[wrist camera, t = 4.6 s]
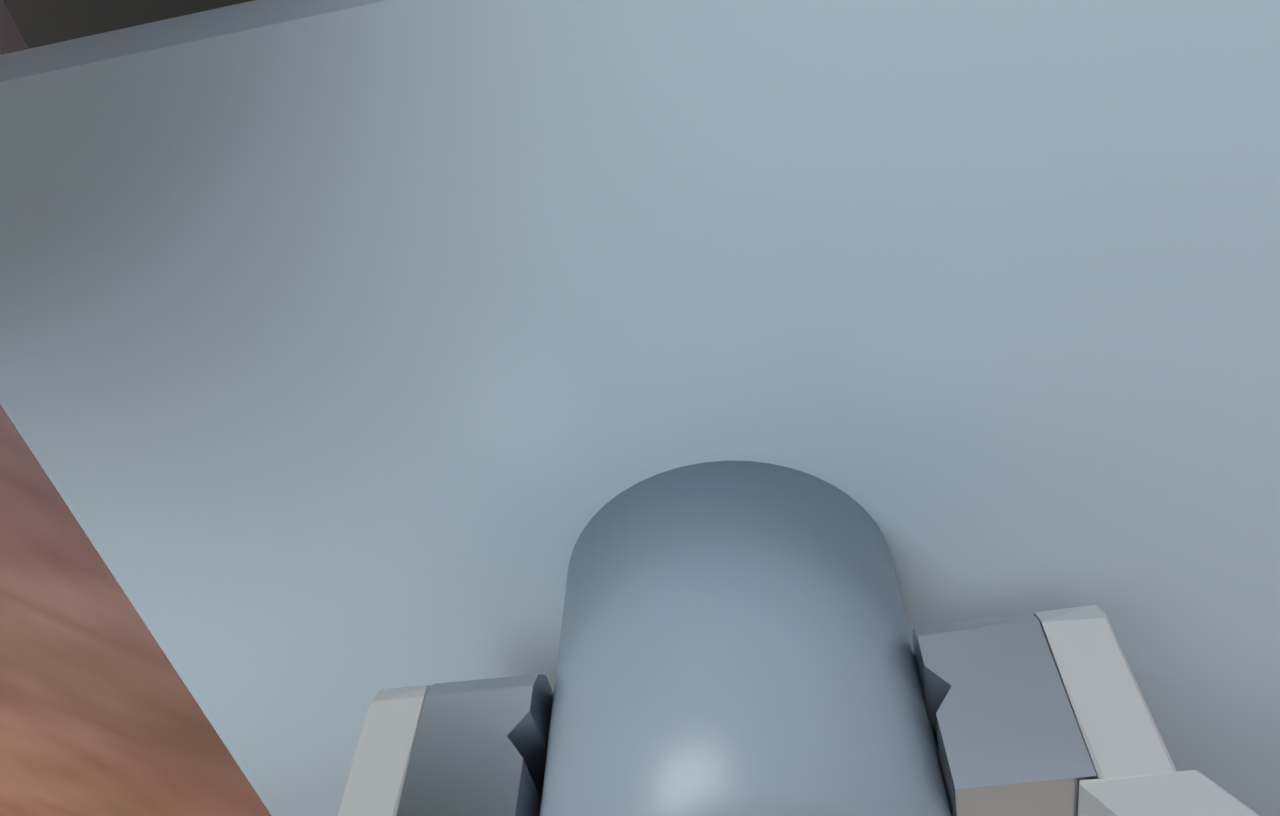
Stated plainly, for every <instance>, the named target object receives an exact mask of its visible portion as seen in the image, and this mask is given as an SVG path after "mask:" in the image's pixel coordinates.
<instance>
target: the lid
mask: <svg viewBox="0 0 1280 816" xmlns="http://www.w3.org/2000/svg"><path fill="white" fill-rule="evenodd" d="M0 404H1V406H2V407H3V409H4V410H5V412H6V413H7V415H8V416H9V418H10V419H11V421H12V422H13V424H14V426H15V427H16V429H17V430H18V432H19V433H20V435H21V436H22V438H23V439H24V441H25V442H26V444H27V445H28V447H29V448H30V450H31V451H32V453H33V454H34V456H35V457H36V459H37V460H38V462H39V463H40V465H41V466H42V468H43V470H44V471H45V473H46V474H47V476H48V477H49V479H50V480H51V482H52V483H53V485H54V486H55V488H56V489H57V491H58V492H59V494H60V495H61V497H62V498H63V500H64V501H65V503H66V504H67V506H68V507H69V509H70V510H71V512H72V514H73V515H74V517H75V518H76V520H77V521H78V523H79V524H80V526H81V527H82V529H83V530H84V532H85V533H86V535H87V536H88V538H89V539H90V541H91V542H92V544H93V545H94V547H95V548H96V550H97V551H98V553H99V554H100V556H101V558H102V559H103V561H104V562H105V564H106V565H107V567H108V568H109V570H110V571H111V573H112V574H113V576H114V577H115V579H116V580H117V582H118V583H119V585H120V586H121V588H122V589H123V591H124V592H125V594H126V595H127V597H128V598H129V600H130V602H131V603H132V605H133V606H134V608H135V609H136V611H137V612H138V614H139V615H140V617H141V618H142V620H143V621H144V623H145V624H146V626H147V627H148V629H149V630H150V632H151V633H152V635H153V636H154V638H155V639H156V641H157V642H158V644H159V646H160V647H161V649H162V650H163V652H164V653H165V655H166V656H167V658H168V659H169V661H170V662H171V664H172V665H173V667H174V668H175V670H176V671H177V673H178V674H179V676H180V677H181V679H182V680H183V682H184V683H185V685H186V687H187V688H188V690H189V691H190V693H191V694H192V696H193V697H194V699H195V700H196V702H197V703H198V705H199V706H200V708H201V709H202V711H203V712H204V714H205V715H206V717H207V718H208V720H209V721H210V723H211V724H212V726H213V727H214V729H215V731H216V732H217V734H218V735H219V737H220V738H221V740H222V741H223V743H224V744H225V746H226V747H227V749H228V750H229V752H230V753H231V755H232V756H233V758H234V759H235V761H236V762H237V764H238V765H239V767H240V768H241V770H242V771H243V773H244V775H245V776H246V778H247V779H248V781H249V782H250V784H251V785H252V787H253V788H254V790H255V791H256V793H257V794H258V796H259V797H260V799H261V800H262V802H263V803H264V805H265V806H266V808H267V809H268V811H269V812H270V814H271V815H272V816H336V815H337V812H338V808H339V805H340V801H341V798H342V795H343V791H344V788H345V784H346V781H347V778H348V774H349V771H350V767H351V764H352V760H353V757H354V754H355V750H356V747H357V743H358V740H359V737H360V733H361V730H362V726H363V723H364V719H365V716H366V713H367V709H368V706H369V705H370V703H371V702H372V700H373V699H374V698H375V696H376V695H377V693H378V692H379V691H380V690H383V689H393V688H403V687H413V686H423V685H433V684H436V683H447V682H458V681H468V680H479V679H490V678H501V677H511V676H522V675H533V674H541V675H546V676H547V679H548V681H549V684H550V686H551V688H552V691H553V693H554V696H553V705H552V713H551V722H550V731H549V740H548V748H547V757H546V766H545V774H544V783H543V792H542V801H541V809H540V816H952V814H951V810H950V806H949V802H948V797H947V793H946V789H945V785H944V781H943V777H942V773H941V768H940V764H939V754H938V750H937V746H936V742H935V738H934V733H933V729H932V725H931V722H930V720H929V717H928V714H927V710H926V705H925V701H924V697H923V692H922V688H921V684H920V680H919V675H918V671H917V667H916V662H915V658H914V653H913V639H912V635H913V628H914V627H922V626H929V625H937V624H944V623H952V622H960V621H967V620H975V619H982V618H990V617H998V616H1005V615H1013V614H1020V613H1028V612H1030V613H1031V614H1032V615H1033V614H1034V612H1041V611H1049V610H1057V609H1065V608H1073V607H1081V606H1089V605H1097V606H1098V607H1099V608H1100V609H1101V610H1102V611H1103V612H1104V613H1105V614H1106V616H1107V618H1108V620H1109V623H1110V625H1111V627H1112V629H1113V631H1114V634H1115V636H1116V638H1117V640H1118V643H1119V645H1120V647H1121V649H1122V651H1123V654H1124V656H1125V658H1126V660H1127V662H1128V665H1129V667H1130V669H1131V671H1132V673H1133V676H1134V678H1135V680H1136V682H1137V684H1138V687H1139V689H1140V691H1141V693H1142V696H1143V698H1144V700H1145V702H1146V704H1147V707H1148V709H1149V711H1150V713H1151V715H1152V718H1153V720H1154V722H1155V724H1156V726H1157V729H1158V731H1159V733H1160V735H1161V737H1162V740H1163V742H1164V744H1165V746H1166V748H1167V751H1168V753H1169V755H1170V757H1171V760H1172V762H1173V764H1174V766H1175V768H1176V771H1182V770H1198V771H1200V772H1201V773H1202V774H1204V775H1205V776H1207V777H1208V778H1209V779H1211V780H1212V781H1213V782H1215V783H1216V784H1217V785H1219V786H1220V787H1222V788H1223V789H1224V790H1226V791H1227V792H1228V793H1230V794H1231V795H1233V796H1234V797H1235V798H1237V799H1238V800H1239V801H1241V802H1242V803H1243V804H1245V805H1246V806H1248V807H1249V808H1250V809H1252V810H1253V811H1254V812H1256V813H1257V814H1258V815H1260V816H1280V0H254V1H249V2H244V3H240V4H235V5H230V6H226V7H221V8H216V9H212V10H207V11H202V12H198V13H193V14H189V15H184V16H179V17H175V18H170V19H165V20H161V21H156V22H151V23H147V24H142V25H137V26H133V27H128V28H123V29H119V30H114V31H109V32H105V33H100V34H95V35H91V36H86V37H81V38H77V39H72V40H67V41H63V42H58V43H54V44H49V45H44V46H40V47H35V48H30V49H26V50H21V51H16V52H12V53H7V54H2V55H0Z"/></svg>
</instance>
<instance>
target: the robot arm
mask: <svg viewBox="0 0 1280 816" xmlns="http://www.w3.org/2000/svg"><path fill="white" fill-rule="evenodd" d="M912 639H913V653H914V658H915V662H916V667H917V671H918V675H919V680H920V684H921V688H922V692H923V697H924V701H925V705H926V710H927V714H928V717H929V720H930V722H931V725H932V729H933V733H934V738H935V742H936V746H937V750H938V754H939V764H940V768H941V773H942V777H943V781H944V785H945V789H946V793H947V797H948V802H949V806H950V810H951V814H952V816H1260V815H1258V814H1257V813H1256V812H1254V811H1253V810H1252V809H1250V808H1249V807H1248V806H1246V805H1245V804H1243V803H1242V802H1241V801H1239V800H1238V799H1237V798H1235V797H1234V796H1233V795H1231V794H1230V793H1228V792H1227V791H1226V790H1224V789H1223V788H1222V787H1220V786H1219V785H1217V784H1216V783H1215V782H1213V781H1212V780H1211V779H1209V778H1208V777H1207V776H1205V775H1204V774H1202V773H1201V772H1200V771H1198V770H1182V771H1176V768H1175V766H1174V764H1173V762H1172V760H1171V757H1170V755H1169V753H1168V751H1167V748H1166V746H1165V744H1164V742H1163V740H1162V737H1161V735H1160V733H1159V731H1158V729H1157V726H1156V724H1155V722H1154V720H1153V718H1152V715H1151V713H1150V711H1149V709H1148V707H1147V704H1146V702H1145V700H1144V698H1143V696H1142V693H1141V691H1140V689H1139V687H1138V684H1137V682H1136V680H1135V678H1134V676H1133V673H1132V671H1131V669H1130V667H1129V665H1128V662H1127V660H1126V658H1125V656H1124V654H1123V651H1122V649H1121V647H1120V645H1119V643H1118V640H1117V638H1116V636H1115V634H1114V631H1113V629H1112V627H1111V625H1110V623H1109V620H1108V618H1107V616H1106V614H1105V613H1104V612H1103V611H1102V610H1101V609H1100V608H1099V607H1098V606H1097V605H1089V606H1081V607H1073V608H1065V609H1057V610H1049V611H1041V612H1034V614H1033V615H1032V614H1031V613H1030V612H1028V613H1020V614H1013V615H1005V616H998V617H990V618H982V619H975V620H967V621H960V622H952V623H944V624H937V625H929V626H922V627H914V628H913V635H912ZM553 696H554V693H553V691H552V688H551V686H550V684H549V681H548V679H547V676H546V675H541V674H533V675H522V676H511V677H501V678H490V679H479V680H468V681H458V682H447V683H436V684H433V685H423V686H413V687H403V688H393V689H383V690H380V691H379V692H378V693H377V695H376V696H375V698H374V699H373V700H372V702H371V703H370V705H369V706H368V709H367V713H366V716H365V719H364V723H363V726H362V730H361V733H360V737H359V740H358V743H357V747H356V750H355V754H354V757H353V760H352V764H351V767H350V771H349V774H348V778H347V781H346V784H345V788H344V791H343V795H342V798H341V801H340V805H339V808H338V812H337V815H336V816H540V809H541V801H542V792H543V783H544V774H545V766H546V757H547V748H548V740H549V731H550V722H551V713H552V705H553Z"/></svg>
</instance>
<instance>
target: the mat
mask: <svg viewBox="0 0 1280 816" xmlns="http://www.w3.org/2000/svg"><path fill="white" fill-rule="evenodd" d="M4 1H5V3H6V5H7V7H8V9H9V10H10V12H11V14H12V16H13V18H14V20H15V22H16V24H17V26H18V28H19V30H20V31H21V33H22V35H23V37H24V39H25V41H26V43H27V45H28V47H29V49H30V48H35V47H40V46H44V45H49V44H54V43H58V42H63V41H67V40H72V39H77V38H81V37H86V36H91V35H95V34H100V33H105V32H109V31H114V30H119V29H123V28H128V27H133V26H137V25H142V24H147V23H151V22H156V21H161V20H165V19H170V18H175V17H179V16H184V15H189V14H193V13H198V12H202V11H207V10H212V9H216V8H221V7H226V6H230V5H235V4H240V3H244V2H249V1H254V0H4Z"/></svg>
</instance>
